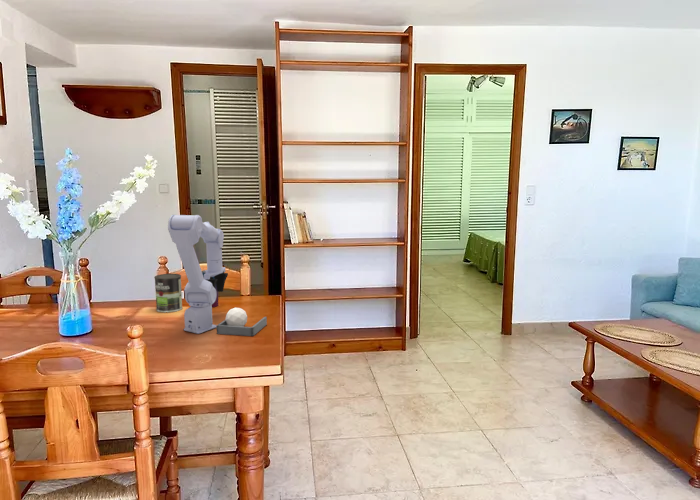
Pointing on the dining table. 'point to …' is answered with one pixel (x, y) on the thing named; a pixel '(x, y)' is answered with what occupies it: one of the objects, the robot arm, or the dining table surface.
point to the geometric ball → (236, 317)
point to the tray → (241, 328)
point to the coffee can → (168, 292)
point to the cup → (216, 292)
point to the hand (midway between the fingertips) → (215, 293)
